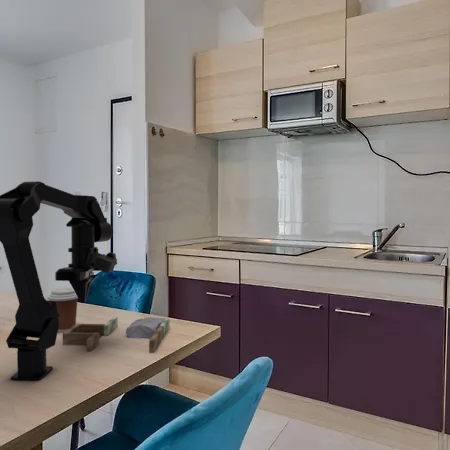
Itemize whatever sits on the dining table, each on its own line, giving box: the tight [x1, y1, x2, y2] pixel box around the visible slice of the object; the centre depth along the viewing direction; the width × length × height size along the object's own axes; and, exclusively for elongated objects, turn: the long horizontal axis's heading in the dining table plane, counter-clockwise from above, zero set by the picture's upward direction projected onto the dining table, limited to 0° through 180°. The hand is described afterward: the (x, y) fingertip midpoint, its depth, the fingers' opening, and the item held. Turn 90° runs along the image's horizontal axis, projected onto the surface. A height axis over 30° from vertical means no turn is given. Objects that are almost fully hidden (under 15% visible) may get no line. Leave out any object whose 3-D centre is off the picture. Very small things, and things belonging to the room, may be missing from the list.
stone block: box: [125, 316, 166, 340], centre depth 121 cm, size 12×5×10 cm
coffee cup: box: [47, 287, 79, 333], centre depth 124 cm, size 9×9×12 cm
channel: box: [62, 316, 170, 353], centre depth 115 cm, size 22×26×3 cm
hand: (83, 302), depth 108 cm, fingers closed
